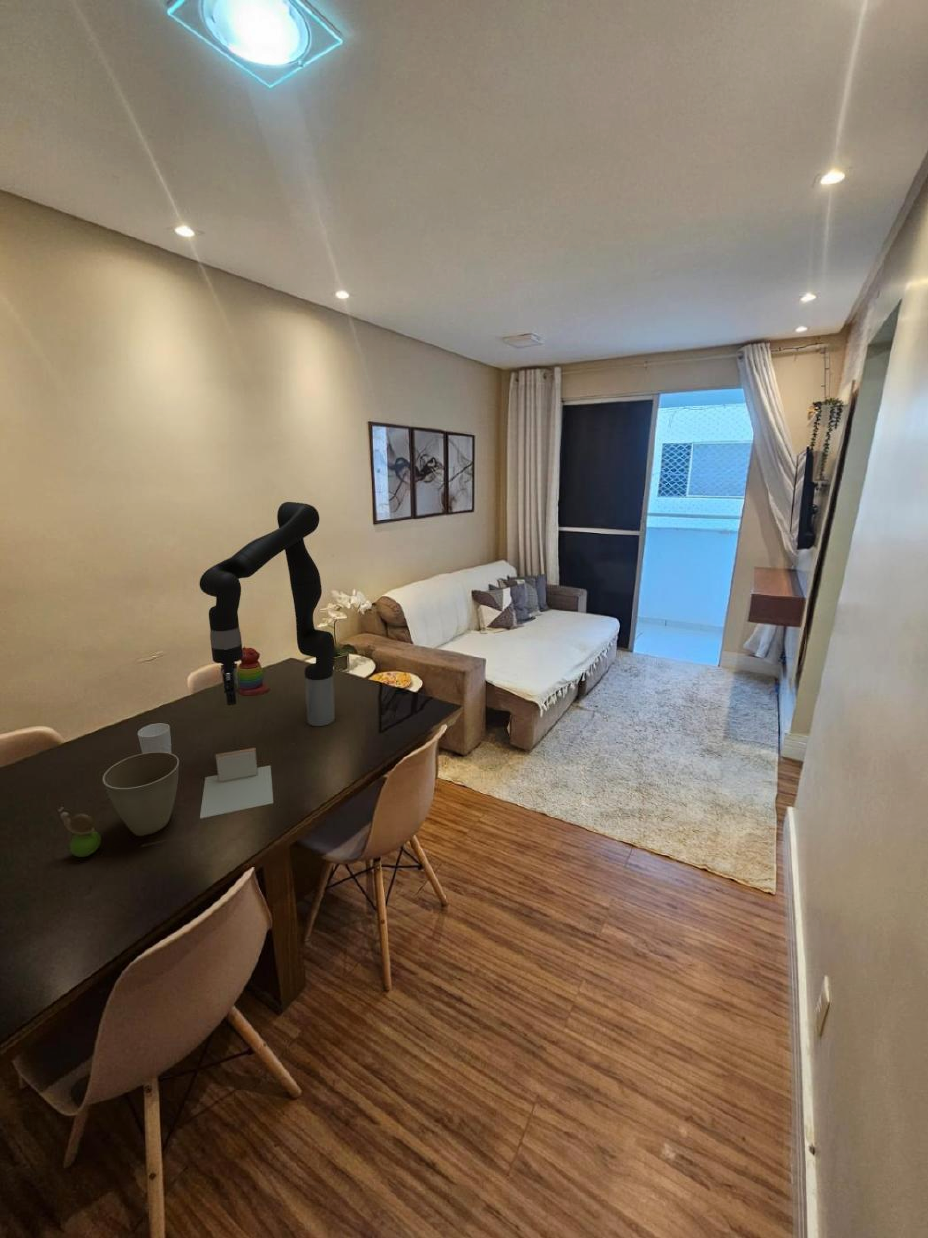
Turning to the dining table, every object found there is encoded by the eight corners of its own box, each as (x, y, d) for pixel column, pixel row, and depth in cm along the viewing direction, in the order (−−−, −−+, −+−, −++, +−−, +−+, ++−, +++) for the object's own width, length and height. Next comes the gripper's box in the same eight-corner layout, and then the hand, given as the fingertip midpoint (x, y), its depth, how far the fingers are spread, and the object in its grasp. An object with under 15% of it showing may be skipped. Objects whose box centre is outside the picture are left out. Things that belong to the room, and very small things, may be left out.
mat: (205, 779, 135) (205, 777, 134) (270, 767, 141) (270, 765, 141) (200, 820, 119) (199, 818, 119) (273, 804, 125) (273, 803, 125)
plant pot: (133, 858, 107) (122, 797, 102) (102, 831, 114) (90, 773, 109) (199, 820, 119) (191, 764, 114) (167, 798, 126) (158, 744, 122)
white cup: (179, 756, 144) (175, 727, 141) (154, 770, 137) (149, 739, 135) (162, 750, 147) (158, 720, 145) (136, 762, 141) (131, 732, 138)
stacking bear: (271, 691, 189) (268, 649, 184) (245, 698, 182) (241, 655, 177) (259, 682, 196) (255, 641, 191) (234, 689, 189) (229, 647, 184)
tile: (218, 779, 134) (215, 754, 131) (257, 772, 138) (255, 747, 135) (218, 782, 132) (215, 757, 130) (257, 775, 136) (255, 750, 134)
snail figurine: (78, 844, 110) (68, 800, 106) (108, 844, 110) (98, 799, 107) (61, 863, 104) (50, 817, 101) (92, 862, 105) (82, 816, 102)
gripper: (212, 636, 135) (218, 690, 140) (209, 653, 123) (216, 712, 127) (241, 634, 138) (246, 686, 143) (241, 650, 126) (246, 707, 130)
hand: (232, 698), depth 135 cm, fingers open, 7 cm apart
